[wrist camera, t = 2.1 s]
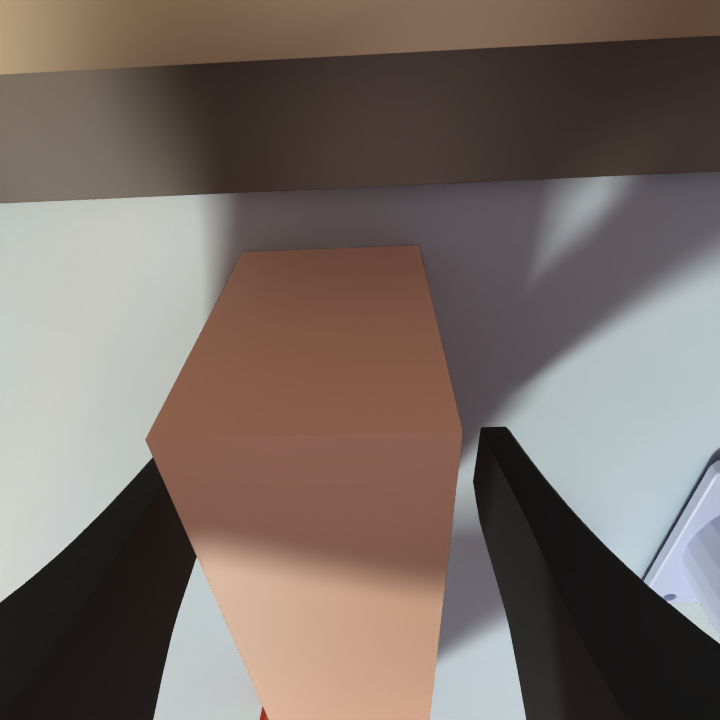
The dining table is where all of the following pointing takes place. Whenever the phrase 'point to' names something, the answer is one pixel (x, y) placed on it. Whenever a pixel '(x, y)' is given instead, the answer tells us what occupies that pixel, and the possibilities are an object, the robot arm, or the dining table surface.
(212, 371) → the block
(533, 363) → the dining table surface
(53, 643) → the robot arm
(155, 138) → the wooden stand
